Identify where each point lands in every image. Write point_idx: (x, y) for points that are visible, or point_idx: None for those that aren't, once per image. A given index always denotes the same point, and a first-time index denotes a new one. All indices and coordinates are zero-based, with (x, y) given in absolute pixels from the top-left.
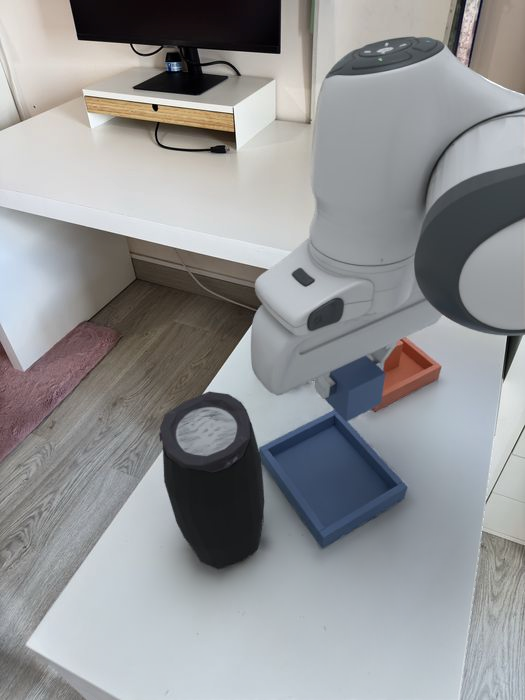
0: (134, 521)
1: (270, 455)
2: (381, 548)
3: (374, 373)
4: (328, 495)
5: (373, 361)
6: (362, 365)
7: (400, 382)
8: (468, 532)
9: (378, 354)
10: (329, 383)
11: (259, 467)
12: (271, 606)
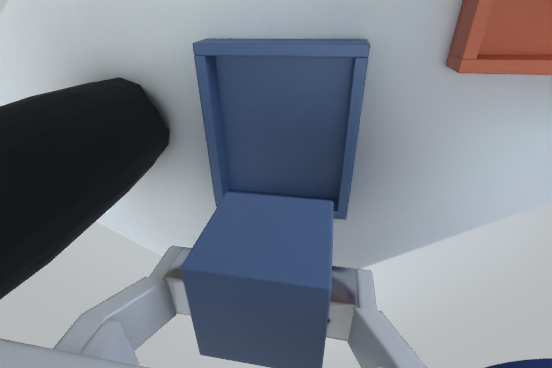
0: (17, 34)
1: (204, 70)
2: None
3: (292, 364)
4: (263, 154)
5: (334, 330)
6: (286, 334)
7: (550, 62)
8: (369, 260)
9: (358, 346)
10: (177, 306)
11: (52, 257)
12: (157, 203)
